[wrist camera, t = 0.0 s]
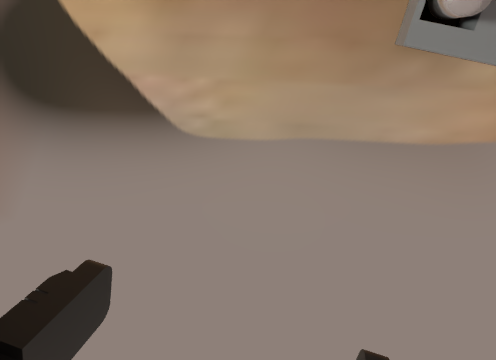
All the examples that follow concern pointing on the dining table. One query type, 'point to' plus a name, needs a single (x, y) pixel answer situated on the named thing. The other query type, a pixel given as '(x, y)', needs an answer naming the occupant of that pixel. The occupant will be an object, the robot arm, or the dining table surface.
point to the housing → (451, 34)
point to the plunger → (456, 8)
